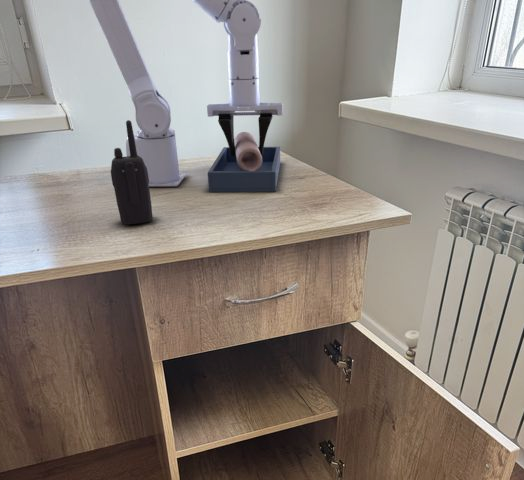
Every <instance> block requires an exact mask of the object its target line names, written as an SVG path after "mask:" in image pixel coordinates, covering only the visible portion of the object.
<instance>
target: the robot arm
mask: <svg viewBox="0 0 524 480" xmlns="http://www.w3.org/2000/svg"><path fill="white" fill-rule="evenodd" d="M191 1H192V2H194V4H196V5H197V6H198V7H199V8H200V9H201V10H203V11H204V12H205V13H206V14H208V16H209V17H211V18H212V20H214V21H215V22H216V23H218V24H219V23H222V24H223V28H224V30H225V32H226V33H227V51H226V52H227V70H228V73H227V74H228V91H229V103H228V102H227V103H214V104H212V103H211V104H208V105H206V113H207V117H209V118H213V117H218V119H217V122H218V125H219V126H220V128H221V131H222V132H223V134H224V136H225V139H226V142H227V145H228V147H229V149H230V154H231V156H234V155H235V142H234V139H235V132H234V131H235V130H234V127H235V126H234V122H235V121H234V117H236V116H239V117H240V116H241V117H242V116H259V117H258V137H259V141H258V147H259V151H260V153H261V156H263V149H264V147H265V143H266V137H267V134H268V130H269V128H270V125H271V122H272V119H273V117H274V116H283V115H284V103H282V102H261V101H260V100H261V99H260V98H261V97H260V95H261V93H260V61H259V60H260V59H259V57H260V55H259V54H260V53H259V48H258V45H259V38H258V33H259V31H260V28H261V25H262V19H261V18H260V14H259V11H258V8H257V7H256V6H255V4H254V3H252V2H251V1H249V0H191ZM88 2H89V4H90V7H91V9H92V12H93V13H94V15H95V18H96V20H97V22H98V25H99V27H100V28H101V30H102V33H103V35H104V38H105V40H106V42H107V44H108V46H109V48H110V50H111V54H112V55H113V57H114V60H115V62H116V64H117V66H118V68H119V71H120V72H121V75H122V77H123V79H124V83H125V84H126V87H127V89H128V93H129V95H130V98H131V101H132V103H133V106H134V109H135V110H134V111H135V115H134V116H135V122H136V125H137V127H138V128H139V130H137V132H136V135H134V139H135V145H136V150H137V155H138V156H140V157H141V158H142V159H143V161H144V163H145V166H146V167H147V172H148V178H149V188H151V187H179V185H180V184H181V183H182V181H183V180H184V179H185V178H186V174H185V173H180V165H179V156H178V146H177V138H176V131H175V130H174V129H173V128H171V127H170V126H171V122H172V115H171V107H170V104H169V102H168V101H167V100H166V99H165V98H164V97H163V96H162V95H161V93H160V92H159V90H158V89H157V87H156V84H155V82H154V80H153V77H152V76H151V74H150V71H149V69H148V67H147V64H146V62H145V60H144V58H143V55H142V53H141V50H140V48H139V45H138V43H137V41H136V38H135V36H134V33H133V32H132V29H131V27H130V25H129V22H128V20H127V18H126V14H125V13H124V10H123V7H122V5H121V3H120V0H88ZM125 153H126V156H130V150H129V143H128V137H127V138H126V141H125Z"/></svg>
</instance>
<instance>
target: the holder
mask: <svg viewBox="0 0 524 480" xmlns="http://www.w3.org/2000/svg"><path fill="white" fill-rule="evenodd" d="M258 149H259V146H258ZM280 167H281V146H264V149H263V156H262V165H261V167H260V169H259V170H258V171H243V170H242V169H241V168H240V167H239V165H238V162H237V158H236V153H235V155H234V156H231V154H230V149H229V146H227V147H226V146H224V147H222V149H221V151H220V152H219V154H218V155H217V157H216V158H215V160H214V162H213V164H212V165H211V166H210V168H209V170H208V171H207V182H208V183H207V184H208V192H209V193H276V192H277V185H278V179H279V174H280Z"/></svg>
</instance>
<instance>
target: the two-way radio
mask: <svg viewBox="0 0 524 480" xmlns="http://www.w3.org/2000/svg"><path fill="white" fill-rule="evenodd" d="M125 125H126V134H127V135H126V136H127V138H128V143H129V150H130V156H127V155H125V156H124V155H123V152H122V148H120V147H116V148H114V149H113V152H114V153H113V156H114V157H113V159H112V160H111V165H110V178H111V183H112V187H113V189H114V194H115V200H116V205H117V209H118V213H119V218H120V219H119V220H120V222H121V224H123V225H126V226H129V225H137V224H145V223H150V222H151V221H153V209H152V207H153V206H152V198H151V191H150V187H149V178H148V172H147V167H146V166H145V163H144V161H143V159H142V158H141V157H140V156H138V155H137V150H136V145H135V139H134V136H135V135H134V129H133V128H134V127H133V123H132V121H131V120H130V119H127V120H126V122H125Z"/></svg>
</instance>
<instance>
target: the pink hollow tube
mask: <svg viewBox="0 0 524 480" xmlns="http://www.w3.org/2000/svg"><path fill="white" fill-rule="evenodd" d="M255 139H256V138H255V137H254V136H253V134H251V133H250V132H247V131H241V132H239V133H238V134H236V135H235V136H234V142H235V153H236V158H237V162H238V165H239V167H240V168H241V169H242V170H243V171H258V170H259V169H260V167H261V165H262V156H261V153H260V151H259V149H258V147H259V145H258V144H257V141H256V140H255Z"/></svg>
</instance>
